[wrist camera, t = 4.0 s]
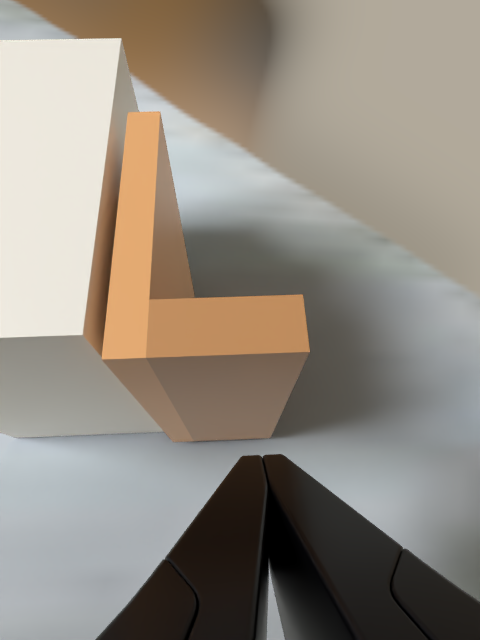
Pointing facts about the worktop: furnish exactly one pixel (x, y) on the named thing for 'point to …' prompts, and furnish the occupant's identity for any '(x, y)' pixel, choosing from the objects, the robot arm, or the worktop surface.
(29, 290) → the block
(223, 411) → the orange l-shaped block
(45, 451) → the worktop surface
